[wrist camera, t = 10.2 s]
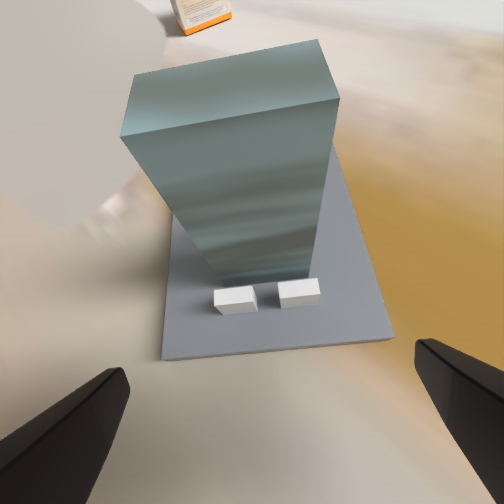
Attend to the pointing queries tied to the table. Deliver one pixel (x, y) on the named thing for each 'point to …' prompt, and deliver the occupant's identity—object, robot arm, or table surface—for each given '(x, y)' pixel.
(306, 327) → the base plate
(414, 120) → the table surface
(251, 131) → the tall streaky grey pillar
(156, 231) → the table surface
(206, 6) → the supplement box
